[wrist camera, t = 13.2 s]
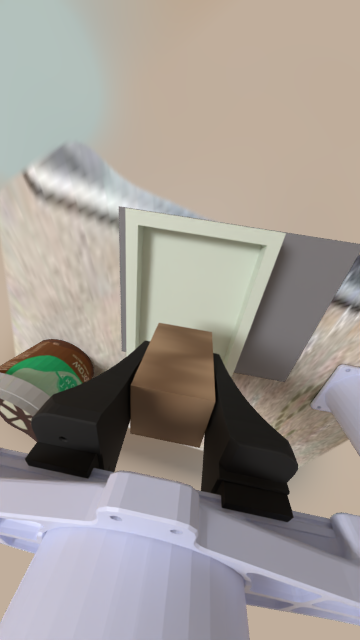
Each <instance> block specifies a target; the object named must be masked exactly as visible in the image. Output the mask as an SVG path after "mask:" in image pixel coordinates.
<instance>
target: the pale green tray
mask: <svg viewBox="0 0 360 640" xmlns="http://www.w3.org/2000/svg"><path fill="white" fill-rule="evenodd" d="M125 220H126V357H127V356H128V355H129V354H130V353H132V352H133V351H134V350H135V349H136V348H137V347H138V346H139V345H140V344H142V343H143V342H144V341H145V340H146V341H151V339H152V337H153V334H154V332H155V330H156V328H157V326H158V323H164V324H170V325H175V326H181V327H187V328H192V329H198V330H203V331H209V332H212V341H213V353H217V354H219V355H220V357H221V359H222V361H223V363H224V365H225V367H226V369H227V371H228V373H229V375H230V376H231V378H232V376H233V373H234V370H235V368H236V365H237V362H238V360H239V357H240V354H241V352H242V349H243V346H244V344H245V341H246V338H247V336H248V333H249V330H250V328H251V325H252V322H253V320H254V317H255V315H256V312H257V309H258V307H259V304H260V301H261V299H262V296H263V293H264V291H265V288H266V285H267V283H268V280H269V277H270V275H271V272H272V269H273V267H274V264H275V261H276V259H277V256H278V253H279V251H280V248H281V245H282V243H283V240H284V237H285V235H286V233H282V232H277V231H271V230H265V229H258V228H252V227H246V226H239V225H233V224H226V223H220V222H214V221H207V220H201V219H194V218H188V217H182V216H175V215H169V214H162V213H156V212H150V211H143V210H137V209H129V208H125Z"/></svg>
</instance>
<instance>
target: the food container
mask: <svg viewBox="0 0 360 640" xmlns="http://www.w3.org/2000/svg"><path fill="white" fill-rule="evenodd" d="M93 374H94V371H93V365H92V363H91V361H90V359H89V358H88V356H87V355H86V354H85V353H84V352H83V351H82V350H80V349H79V348H78V347H76V346H74V345H72V344H70V343H68V342H65V341H62V340H57V339H48V340H44V341H42V342H40V343H38V344H37V345H35V346H33V347H31V348H30V349H28V350H26V351H25V352H23V353H21V354H20V355H18V356H16V357H14V358H13V359H11V360H9V361H8V362H6V363H4V364H3V365H1V366H0V415H1V417H2V418H3V419H4V420H5V421H6V422H7V423H8V424H10V425H11V426H13V427H15V428H17V429H19V430H21V431H23V432H25V433H26V434H28V435H29V436H30V437H32V438H33V439H34V440H35V441H36V442H38V441H37V438H36V436H35V434H34V431H33V429H32V426H31V419H32V417H33V416H34V415H35V414H36V413H37V411H38V410H39V409H40V408H41V407H42V406H43V405H44V403H45V402H46V401H47V400H48V399H49V398H50V397H51V396H52V395H53V394H56V393H59V392H61V391H64V390H67V389H70V388H72V387H75V386H77V385H80V384H82V383H84V382H87V381H89V380H91V379H92V377H93Z"/></svg>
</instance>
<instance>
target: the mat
mask: <svg viewBox="0 0 360 640" xmlns="http://www.w3.org/2000/svg"><path fill="white" fill-rule="evenodd" d="M129 209H132V208H129ZM137 210H138V209H137ZM143 211H145V210H143ZM150 212H151V211H150ZM156 213H157V212H156ZM162 214H164V213H162ZM169 215H170V214H169ZM175 216H177V215H175ZM182 217H183V216H182ZM188 218H190V217H188ZM194 219H196V218H194ZM201 220H202V219H201ZM207 221H209V220H207ZM214 222H215V221H214ZM220 223H222V222H220ZM226 224H228V223H226ZM233 225H234V224H233ZM239 226H241V225H239ZM246 227H247V226H246ZM252 228H254V227H252ZM258 229H260V228H258ZM265 230H266V229H265ZM271 231H272V230H271ZM277 232H279V231H277ZM282 233H286V232H282ZM119 241H120V287H121V334H122V351H124V352H126V220H125V207H119ZM359 253H360V244H356V243H350V242H343V241H337V240H330V239H324V238H317V237H311V236H305V235H298V234H292V233H286V235H285V237H284V240H283V243H282V245H281V248H280V251H279V253H278V256H277V259H276V261H275V264H274V267H273V269H272V272H271V275H270V277H269V280H268V283H267V285H266V288H265V291H264V293H263V296H262V299H261V301H260V304H259V307H258V309H257V312H256V315H255V317H254V320H253V322H252V325H251V328H250V330H249V333H248V336H247V338H246V341H245V344H244V346H243V349H242V352H241V354H240V357H239V360H238V362H237V365H236V368H235V370H234V372H235V373H240V374H245V375H251V376H256V377H261V378H266V379H272V380H277V381H282V382H285V381H286V379H287V377H288V375H289V374H290V372H291V370H292V369H293V367H294V365H295V363H296V362H297V360H298V358H299V356H300V355H301V353H302V351H303V350H304V348H305V346H306V344H307V343H308V341H309V339H310V337H311V336H312V334H313V332H314V331H315V329H316V327H317V325H318V324H319V322H320V320H321V318H322V317H323V315H324V313H325V312H326V310H327V308H328V306H329V305H330V303H331V301H332V299H333V298H334V296H335V294H336V293H337V291H338V289H339V287H340V286H341V284H342V282H343V280H344V279H345V277H346V275H347V274H348V272H349V270H350V268H351V267H352V265H353V263H354V261H355V260H356V258H357V256H358V255H359Z"/></svg>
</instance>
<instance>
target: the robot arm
mask: <svg viewBox="0 0 360 640" xmlns="http://www.w3.org/2000/svg"><path fill="white" fill-rule="evenodd" d="M149 343H150V341H146V340H145V341H144V342H143V343H142V344H140V345H139V346H138V347H137V348H136V349H135V350H134V351H133V352H132V353H130V354H129V355H128V356H127V357H126V358H124V359H123V360H122V361H120V362H119V363H118V364H116V365H115V366H113V367H112V368H110V369H109V370H107V371H106V372H104V373H102V374H100V375H98V376H97V377H95V378H93V379H91V380H89V381H87V382H84V383H82V384H80V385H77V386H75V387H72V388H70V389H67V390H64V391H61V392H59V393H56V394H53V395H52V396H51V397H50V398H49V399H48V400H47V401H46V402H45V403H44V405H43V406H42V407H41V408H40V409H39V410H38V411H37V413H36V414H35V415H34V416H33V417H32V419H31V426H32V429H33V431H34V434H35V436H36V438H37V441H38V442H37V443H36V445H35V446H34V447H33V448H32V450H31V451H30V453H29V454H27V453H22V452H18V451H13V450H8V449H4V448H0V543H1V544H5V545H8V546H11V547H14V548H17V549H21V550H24V551H27V552H30V553H34V554H35V556H34V557H33V560H32V561H31V563H30V565H29V567H28V569H27V571H26V573H25V575H24V577H23V579H22V581H21V583H20V585H19V587H18V589H17V591H16V593H15V595H14V597H13V599H12V601H11V603H10V605H9V607H8V609H7V610H6V612H5V614H4V616H3V618H2V621H1V622H0V640H250V638H249V629H248V619H247V609H246V605H251V606H257V607H263V608H268V609H274V610H280V611H286V612H291V613H297V614H303V615H309V616H314V617H319V618H325V619H330V620H335V621H340V622H344V623H349V624H354V625H359V626H360V516H357V515H352V514H348V513H336V514H334V515H332V516H331V517H330V519H328V518H324V517H319V516H314V515H310V514H305V513H300V512H296V511H292V510H291V506H290V503H289V499H288V496H287V495H288V494H289V488H288V485H287V482H288V481H289V480H290V479H291V478H292V477H293V476H294V475H295V473H296V471H297V470H298V463H297V461H296V458H295V455H294V453H293V450H292V448H291V446H290V444H289V442H288V440H286V439H285V438H284V437H283V436H282V435H281V434H279V433H278V432H277V431H276V430H275V429H274V428H273V427H271V426H270V425H269V424H268V423H267V422H266V421H265V420H264V419H263V418H262V417H261V416H260V415H259V414H258V413H257V412H256V410H255V409H254V408H253V407H252V406H251V405H250V404H249V402H248V401H247V400H246V399H245V397H244V396H243V395H242V393H241V392H240V391H239V389H238V388H237V386H236V385H235V383H234V382H233V380H232V378H231V376H230V375H229V373H228V371H227V369H226V367H225V365H224V363H223V361H222V359H221V357H220V355H219V354H217V353H213V362H214V382H215V404H214V407H213V410H212V413H211V416H210V419H209V422H208V425H207V428H206V430H205V437H204V455H203V471H202V484H201V491H199V490H195V489H194V488H193V487H191V486H190V485H187V484H184V483H181V482H178V481H172V480H168V479H164V478H159V477H154V476H150V475H145V474H140V473H135V472H131V471H117V472H114V471H115V467H116V464H117V461H118V457H119V454H120V451H121V448H122V444H123V441H124V438H125V435H126V431H127V428H128V425H129V422H130V419H131V383H132V381H133V379H134V377H135V374H136V372H137V370H138V368H139V365H140V363H141V361H142V359H143V357H144V354H145V352H146V350H147V348H148V346H149ZM346 369H347V370H346ZM310 406H311V408H312V409H317V410H322V411H327V412H332V414H333V415H334V417H335V419H336V420H337V422H338V423H339V425H340V426H341V428H342V429H343V431H344V433H345V434H346V436H347V437H348V439H349V440H350V442H351V443H352V445H353V446H354V448H355V450H356V451H357V453H358V454H359V456H360V367H355V366H349V365H339V366H338V367H337V369H336V370H335V371H334V373H333V374H332V375H331V377H330V378H329V380H328V381H327V382H326V384H325V385H324V386H323V388H322V389H321V390H320V392H319V393H318V395H317V396H316V397H315V399H314V400H313V401H312V403H311V404H310Z"/></svg>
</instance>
